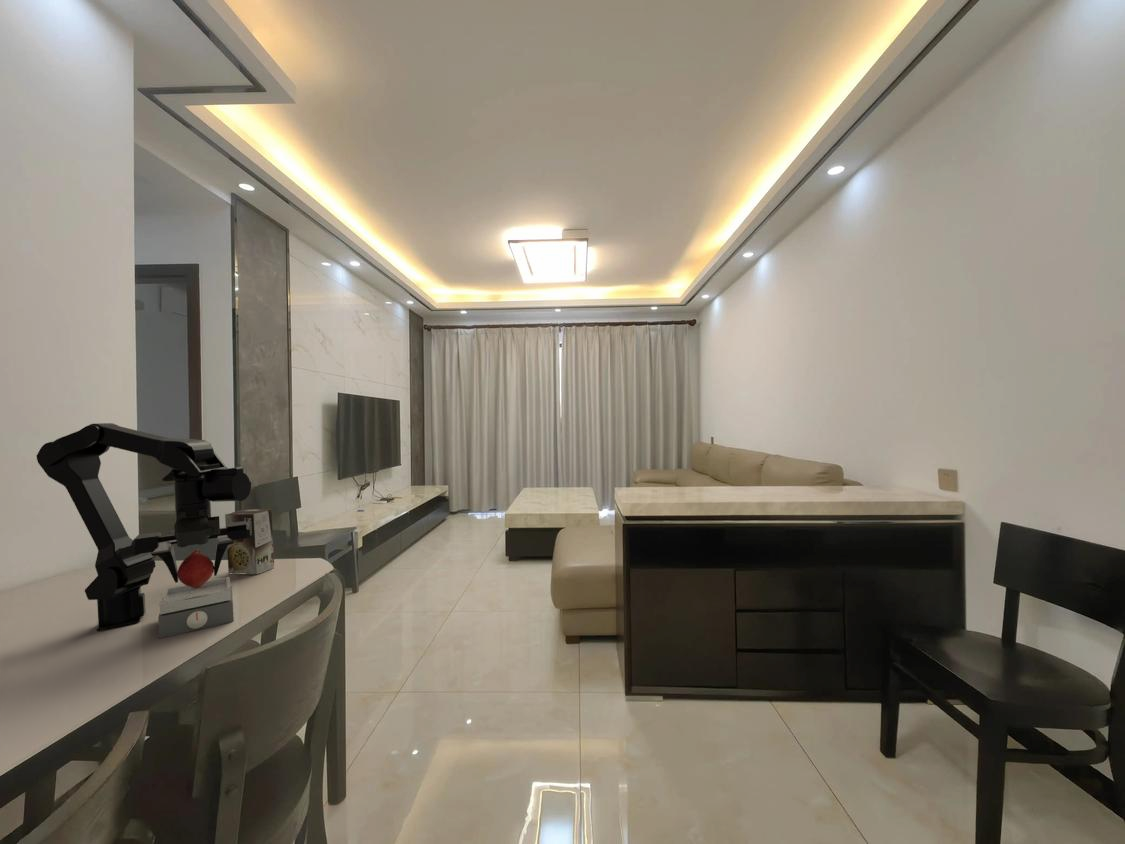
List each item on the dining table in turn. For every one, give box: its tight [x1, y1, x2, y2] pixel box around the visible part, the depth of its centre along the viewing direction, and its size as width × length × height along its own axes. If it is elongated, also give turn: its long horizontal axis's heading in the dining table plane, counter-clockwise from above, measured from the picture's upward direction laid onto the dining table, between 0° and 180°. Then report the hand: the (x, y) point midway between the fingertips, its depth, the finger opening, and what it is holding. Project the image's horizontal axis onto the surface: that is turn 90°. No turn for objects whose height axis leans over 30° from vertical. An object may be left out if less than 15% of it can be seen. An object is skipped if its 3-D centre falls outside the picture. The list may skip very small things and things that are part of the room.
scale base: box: [157, 585, 235, 639], centre depth 98 cm, size 12×12×4 cm
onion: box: [177, 548, 214, 589], centre depth 98 cm, size 6×6×8 cm
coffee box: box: [224, 508, 275, 575], centre depth 129 cm, size 9×6×16 cm
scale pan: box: [159, 576, 231, 615], centre depth 98 cm, size 11×11×2 cm
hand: (196, 578), depth 98 cm, fingers closed on onion, 6 cm apart
